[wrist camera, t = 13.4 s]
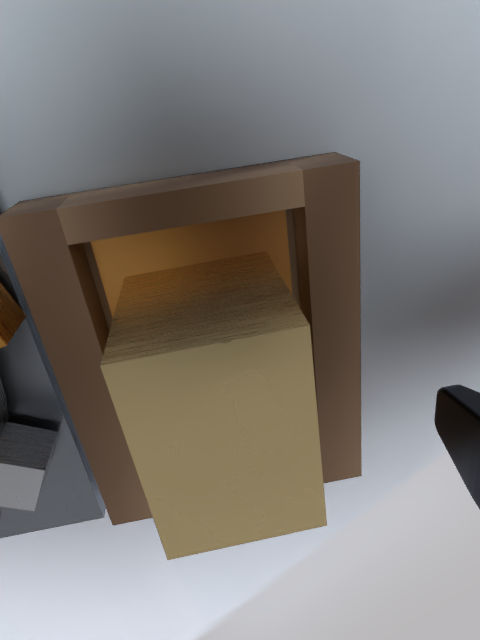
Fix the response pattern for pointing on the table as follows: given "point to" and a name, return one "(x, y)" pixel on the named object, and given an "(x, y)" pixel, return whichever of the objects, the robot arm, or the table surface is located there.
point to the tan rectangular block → (218, 403)
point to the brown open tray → (188, 249)
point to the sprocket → (20, 433)
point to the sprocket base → (43, 426)
